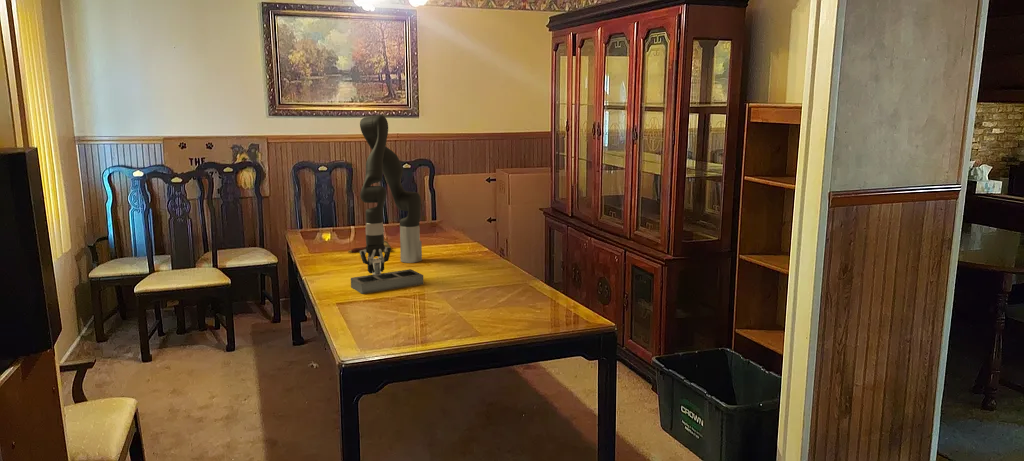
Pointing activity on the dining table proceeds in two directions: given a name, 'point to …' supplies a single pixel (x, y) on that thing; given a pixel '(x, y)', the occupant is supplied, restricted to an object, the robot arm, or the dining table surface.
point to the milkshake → (376, 266)
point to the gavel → (356, 250)
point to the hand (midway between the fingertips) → (376, 272)
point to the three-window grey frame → (386, 281)
